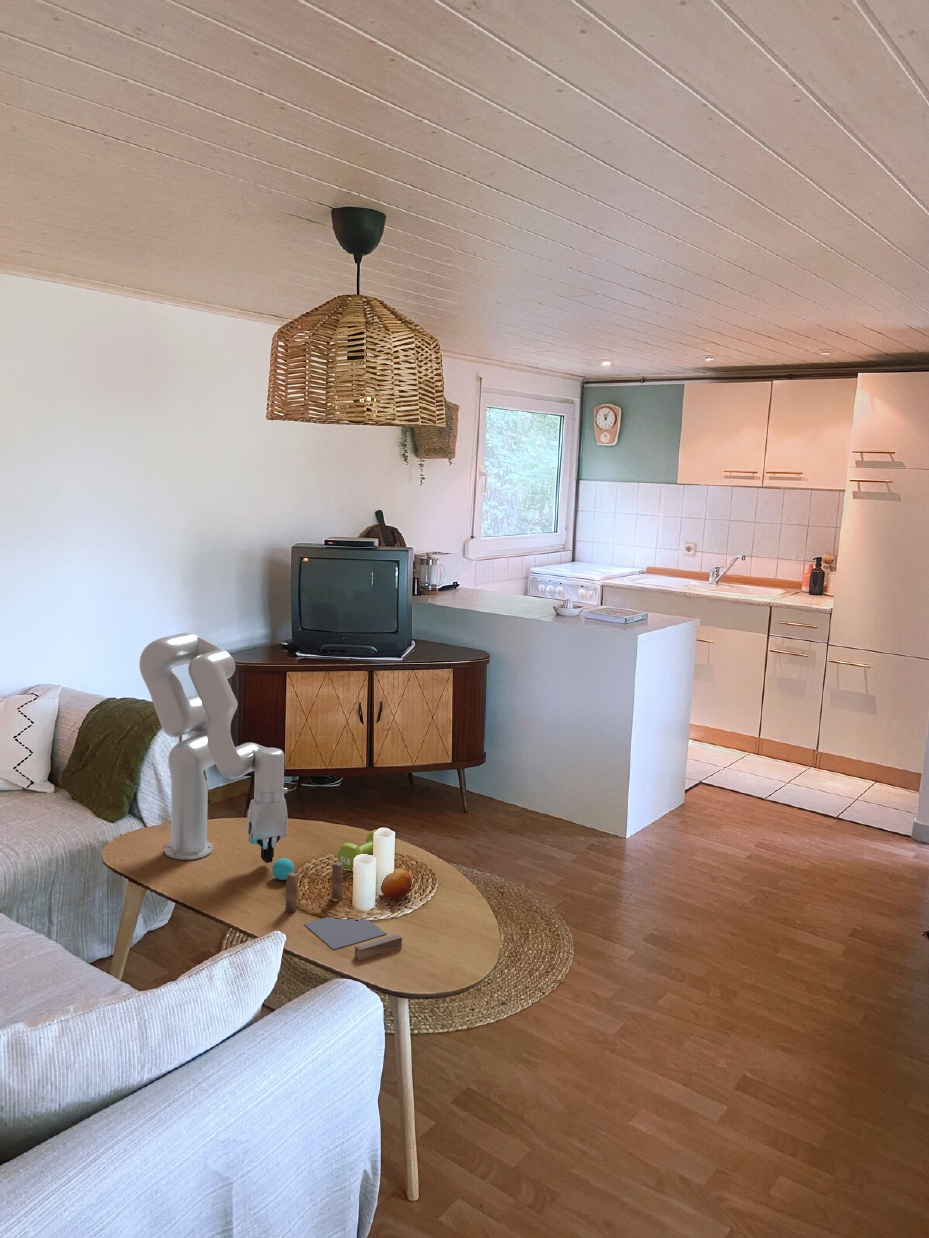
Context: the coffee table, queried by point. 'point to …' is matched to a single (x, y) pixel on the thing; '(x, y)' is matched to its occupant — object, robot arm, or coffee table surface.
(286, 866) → the ball
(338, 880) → the post
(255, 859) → the coffee table surface
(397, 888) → the fruit
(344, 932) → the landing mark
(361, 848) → the dumbbell
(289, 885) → the post
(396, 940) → the strip
